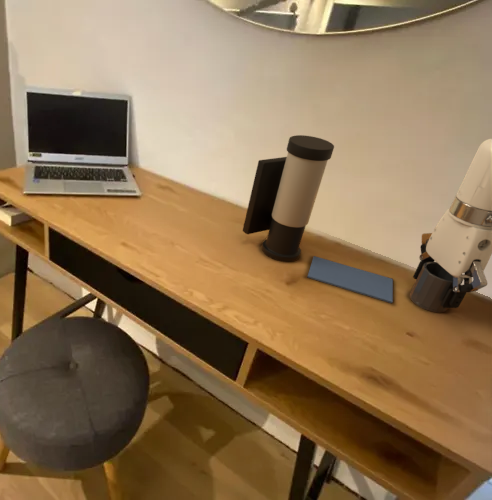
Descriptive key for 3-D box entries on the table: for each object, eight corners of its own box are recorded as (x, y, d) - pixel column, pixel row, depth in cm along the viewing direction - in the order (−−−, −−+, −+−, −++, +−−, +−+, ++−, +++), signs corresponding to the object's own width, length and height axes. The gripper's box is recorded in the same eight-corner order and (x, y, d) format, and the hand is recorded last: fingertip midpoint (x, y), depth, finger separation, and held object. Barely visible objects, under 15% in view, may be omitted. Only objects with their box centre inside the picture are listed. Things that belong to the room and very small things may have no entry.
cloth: (392, 280, 97) (392, 278, 97) (391, 303, 90) (392, 301, 90) (313, 257, 103) (313, 255, 102) (307, 277, 95) (307, 275, 95)
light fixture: (272, 267, 98) (304, 152, 85) (239, 241, 106) (264, 133, 93) (314, 256, 103) (350, 147, 90) (279, 232, 111) (308, 129, 98)
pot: (433, 291, 95) (448, 262, 92) (455, 312, 90) (472, 282, 86) (402, 290, 95) (416, 261, 91) (422, 312, 89) (437, 281, 85)
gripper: (534, 237, 75) (483, 322, 84) (462, 191, 90) (425, 267, 99) (491, 236, 74) (444, 321, 83) (425, 189, 89) (392, 266, 98)
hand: (434, 292), depth 91 cm, fingers open, 8 cm apart
